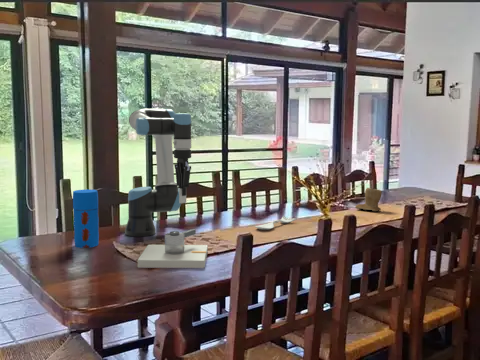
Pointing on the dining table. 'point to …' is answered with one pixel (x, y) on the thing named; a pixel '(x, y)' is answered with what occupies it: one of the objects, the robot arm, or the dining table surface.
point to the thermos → (86, 218)
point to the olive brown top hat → (371, 200)
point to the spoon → (271, 225)
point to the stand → (173, 257)
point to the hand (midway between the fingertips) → (182, 202)
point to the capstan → (176, 241)
